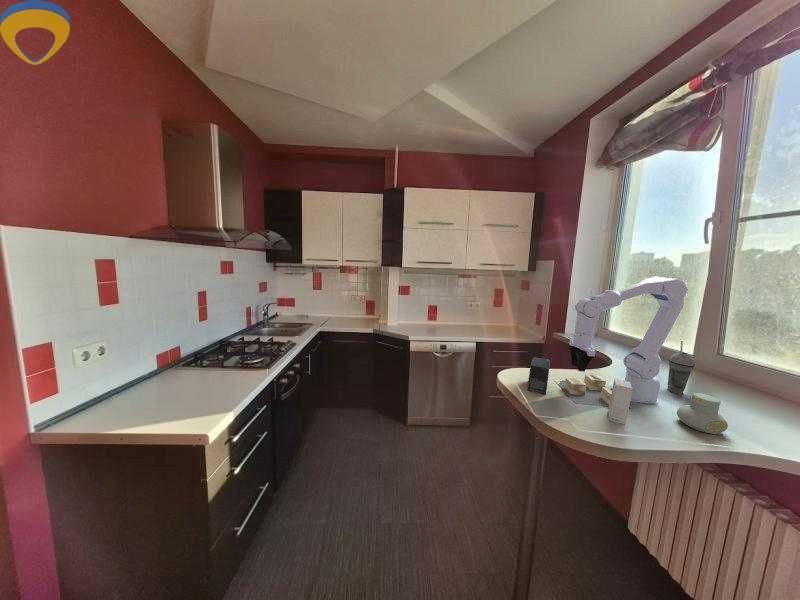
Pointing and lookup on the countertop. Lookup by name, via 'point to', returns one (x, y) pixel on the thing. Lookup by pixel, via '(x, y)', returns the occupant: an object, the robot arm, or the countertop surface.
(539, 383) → the small box
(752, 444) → the countertop surface
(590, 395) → the mat
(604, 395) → the marked block
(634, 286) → the robot arm
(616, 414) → the skincare box
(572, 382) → the plain block
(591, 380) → the marked block
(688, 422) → the air freshener
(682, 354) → the beverage cup
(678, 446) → the countertop surface
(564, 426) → the countertop surface
